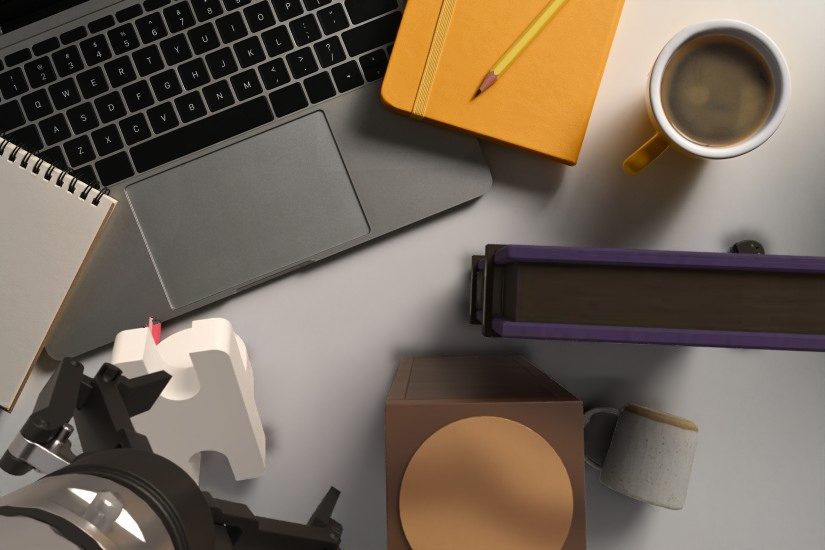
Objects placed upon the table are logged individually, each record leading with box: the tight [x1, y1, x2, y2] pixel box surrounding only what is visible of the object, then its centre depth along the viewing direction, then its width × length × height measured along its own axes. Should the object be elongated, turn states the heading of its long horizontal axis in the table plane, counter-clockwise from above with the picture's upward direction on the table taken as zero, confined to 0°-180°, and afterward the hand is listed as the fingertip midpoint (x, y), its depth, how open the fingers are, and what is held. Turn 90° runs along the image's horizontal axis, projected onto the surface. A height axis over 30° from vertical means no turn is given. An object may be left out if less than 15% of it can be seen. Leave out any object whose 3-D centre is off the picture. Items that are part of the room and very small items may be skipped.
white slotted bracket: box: [109, 317, 267, 486], centre depth 65 cm, size 10×18×11 cm
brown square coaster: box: [383, 396, 588, 550], centre depth 42 cm, size 12×12×2 cm
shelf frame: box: [385, 355, 577, 401], centre depth 56 cm, size 12×12×26 cm
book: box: [468, 243, 825, 353], centre depth 54 cm, size 24×6×30 cm, turn 88°
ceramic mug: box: [583, 403, 699, 511], centre depth 65 cm, size 11×8×8 cm
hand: (240, 447), depth 46 cm, fingers open, 13 cm apart
